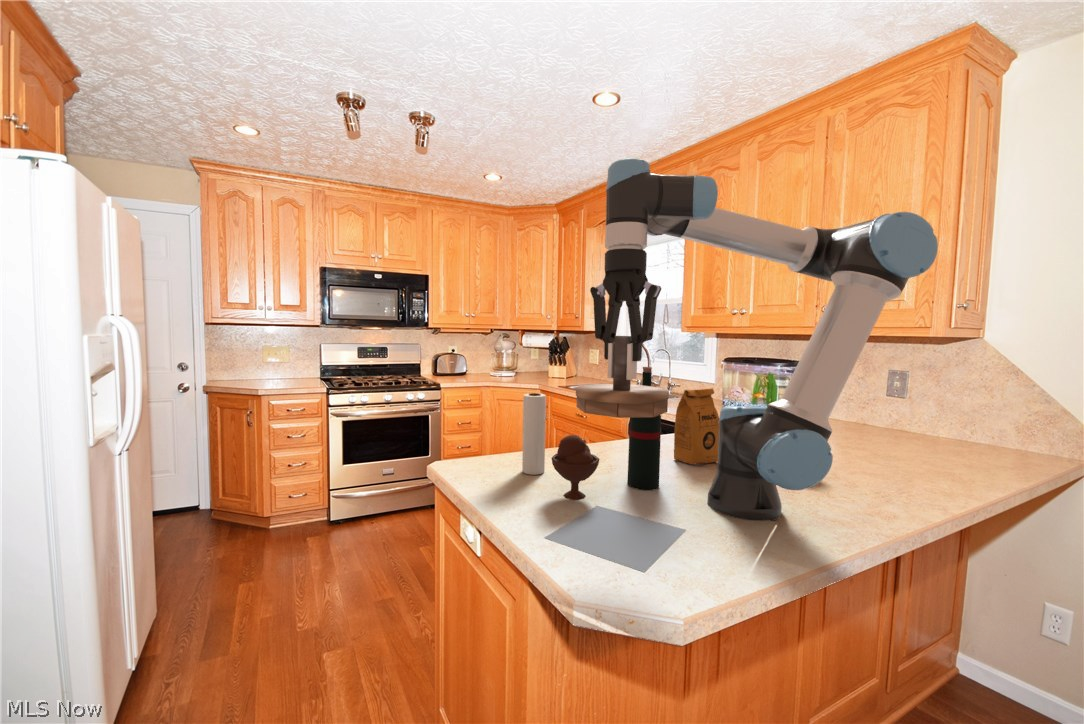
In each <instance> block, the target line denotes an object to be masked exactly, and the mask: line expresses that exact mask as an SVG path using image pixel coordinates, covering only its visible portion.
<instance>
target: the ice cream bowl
mask: <svg viewBox="0 0 1084 724" xmlns="http://www.w3.org/2000/svg"><path fill="white" fill-rule="evenodd" d="M551 464H552V466H553V468H554V470H555V471H556V472H557V473H558V474H559V475H560V476H561V477H562V478H563V479H565V480H566V481H569V483H570V490H568V491H566V492H565V493H564V494H563V495H562V496H563V497H564V498H565V499H566V500H570V501H580V500H584V499H585V498H586V497H587V495H586V494H584V493H583V492H582V491H580V490H579V489H580V488H579V486H580V485H579V484H580V482H583V481H586V480H587V479H589V478H590V477H591V476H592V475H593V474H594V473H595V472H596V470H597V468H598V466H599V464H600V458H599V457H598V456H596V455H595V454H592V452H591V449H590V447H589V446H588V445H587V444H586V442H585V441H584V440H583V439H582V437H580V436H579V435H576V434H572V435H571V434H569V435H566V436H564V437H563V438H562V439H560V441H559V443H558V449H557V453H555V454H554V455H552V457H551Z"/></svg>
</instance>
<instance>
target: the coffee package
mask: <svg viewBox="0 0 1084 724" xmlns="http://www.w3.org/2000/svg"><path fill="white" fill-rule="evenodd" d="M713 394H715V391H714V388H713V387H712V388H702V389H684V391H683V393H682V396H681V398H680V401H679V402H678V405H677V407H676V410H675V411H676V413H675V421H674V422H675V423H674V432H673V433H674V437H673V438H674V442H673V443H674V444H673V459H674V460H675V461H679V462H682V463H683V462H684V463H685V464H688V465H700V464H711V463H718V439H719V418H720V415H719V414H718V413H719V412H718V410H717V408H716V406H715V403H714V402H715V401H714V398H713V397H712V395H713Z"/></svg>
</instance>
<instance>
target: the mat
mask: <svg viewBox="0 0 1084 724" xmlns="http://www.w3.org/2000/svg"><path fill="white" fill-rule="evenodd" d="M686 531H687V529H684V528H680V527H679V526H678V527H677V526H673V525H670V524H667V523H663V522H659V521H656V520H651V519H648V518H644V517H641V516H637V515H634V514H633V515H632V514H630V513H626V512H622V511H619V510H615V509H611V508H608V507H605V506H604V507H603V506H600V505H595V506H594V507H592V508H590V509H588V510H587V511H586V512H584V513H582V514H580V515H579V516H577V517H575V518H574V519H572V520H571V521H569V522H568V523H566V524H564V525H562V526H561V527H560V528H558V529H556V530H554V531H553V532H551V533H549V534H548V535H546V536H544V538H543V539H546V540H548V541H551V542H554V543H557V544H560V545H563V546H566V547H569V548H572V549H575V550H578V551H581V552H583V553H587V554H589V555H592V556H595V557H597V558H601V559H604V560H606V561H609V562H613V563H616V564H619V565H622V566H624V567H628V568H630V569H633V570H635V571H639V572H642V573H646V571H648V570H649V568H650V567H652V565H653V564H654V563H655V562H657V560H658V559H659V558H661V556H662V555H663V554H664V553H665V552H667V551H668V549H669V548H670V547H671V546H672V545H673V544H674V543H675V542H677V540H678V539H679V538H680V537H681V536H682V535H683V534H684V533H685V532H686Z"/></svg>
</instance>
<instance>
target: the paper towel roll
mask: <svg viewBox="0 0 1084 724" xmlns="http://www.w3.org/2000/svg"><path fill="white" fill-rule="evenodd" d="M546 399H547V395H546V394H544V393H540V392H536V393H535V392H534V393H533V392H531V393H524V394H523V400H522V403H523V404H522V405H523V406H522V407H523V409H522V464H521V465H522V467H521V468H522V473H524V474H527V475H530V476H531V475H533V476H534V475H535V476H537V475H541V474H543V473H545V468H546V465H545V464H546V461H545V460H546V418H547V417H546V413H547V412H546V410H547V409H546V405H547V404H546V403H547V400H546Z"/></svg>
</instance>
